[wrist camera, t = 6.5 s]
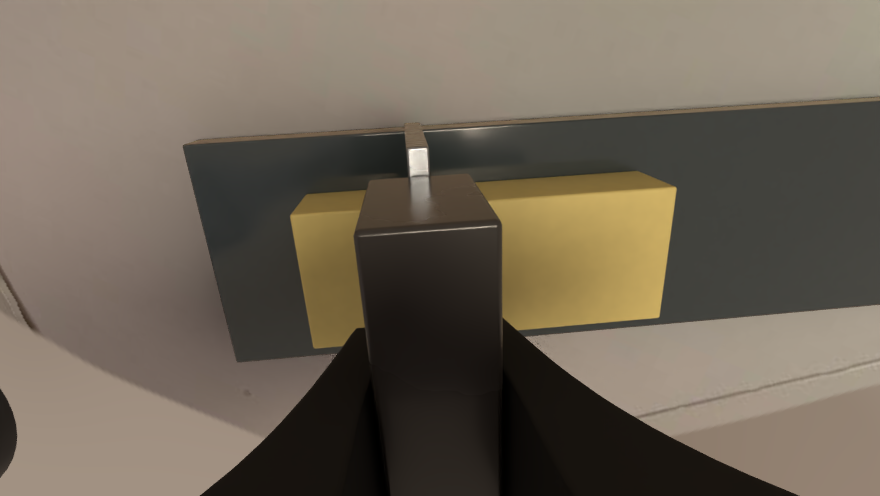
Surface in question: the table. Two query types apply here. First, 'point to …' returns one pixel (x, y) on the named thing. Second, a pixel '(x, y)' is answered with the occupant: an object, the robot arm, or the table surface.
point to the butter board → (580, 153)
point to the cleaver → (433, 328)
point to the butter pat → (329, 264)
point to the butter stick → (582, 247)
